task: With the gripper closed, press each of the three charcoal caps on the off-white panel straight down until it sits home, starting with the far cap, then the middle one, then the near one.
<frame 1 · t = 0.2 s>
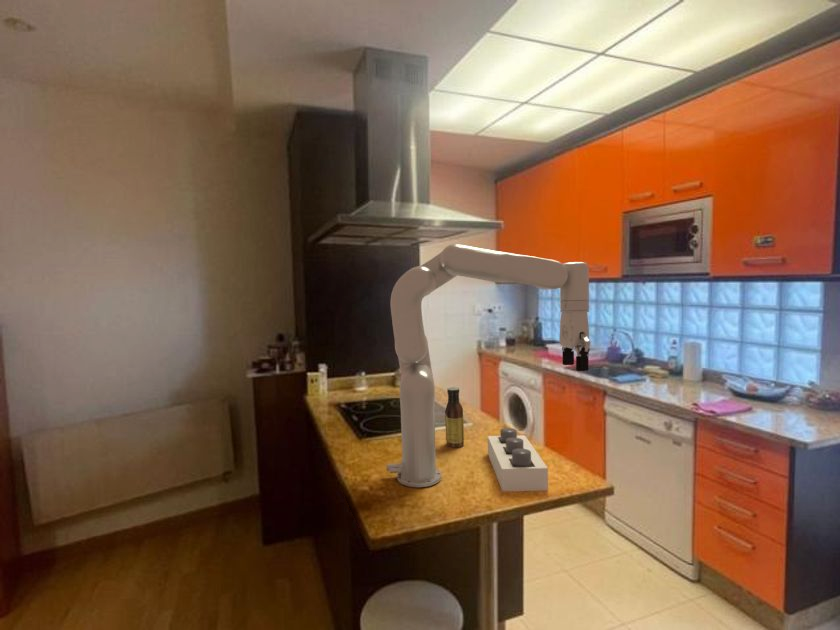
hand: (574, 367, 122), 31 cm above the worktop, tool pointing down, fingers open, 9 cm apart
near cap: (521, 461, 118), point 6 cm above the worktop, slide at 0.0 cm
far cap: (508, 439, 136), point 6 cm above the worktop, slide at 0.0 cm
button panel: (514, 470, 127), on the worktop
middle cap: (514, 449, 127), point 6 cm above the worktop, slide at 0.0 cm
sauce bottle: (455, 445, 149), on the worktop
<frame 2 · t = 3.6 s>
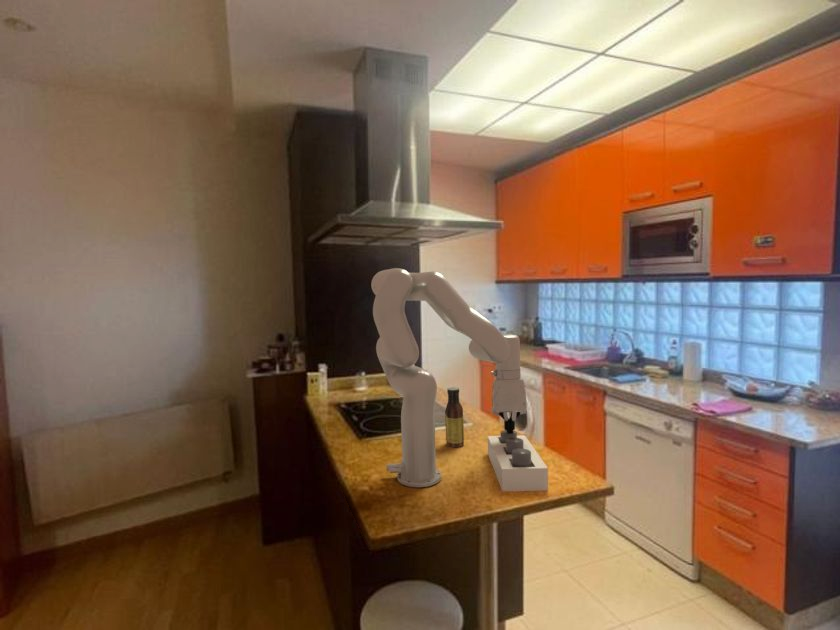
hand: (509, 432, 136), 8 cm above the worktop, tool pointing down, fingers closed
far cap: (508, 441, 136), point 6 cm above the worktop, slide at 0.6 cm, touching gripper
everything else where it was.
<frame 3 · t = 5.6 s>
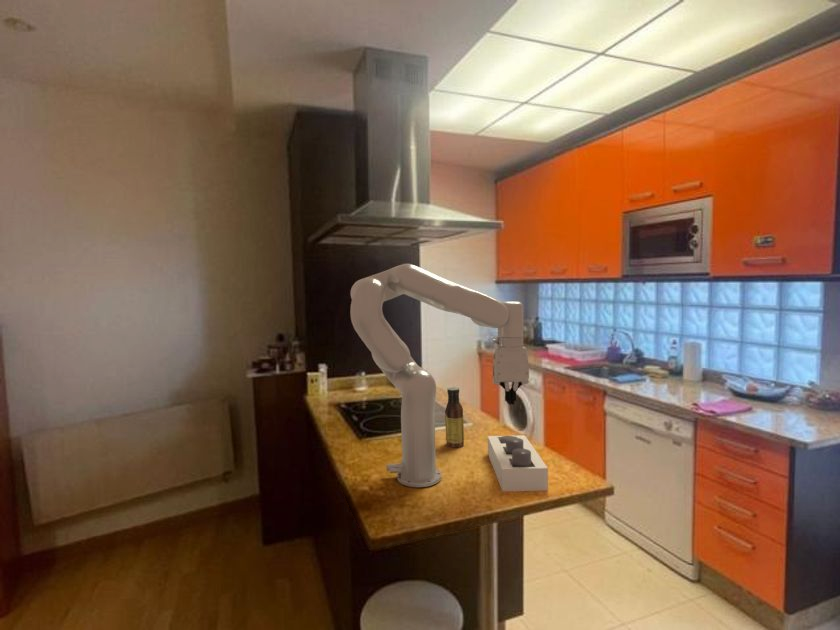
hand: (510, 403, 131), 19 cm above the worktop, tool pointing down, fingers closed
far cap: (508, 447, 136), point 4 cm above the worktop, slide at 2.5 cm
everything else where it was.
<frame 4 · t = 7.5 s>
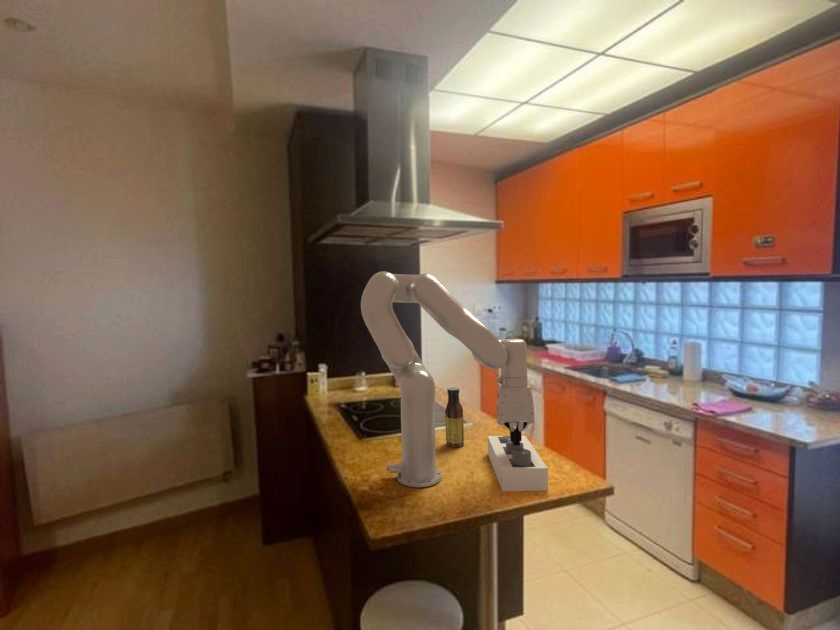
hand: (516, 443, 127), 8 cm above the worktop, tool pointing down, fingers closed
middle cap: (514, 452, 127), point 5 cm above the worktop, slide at 1.0 cm, touching gripper
everything else where it was.
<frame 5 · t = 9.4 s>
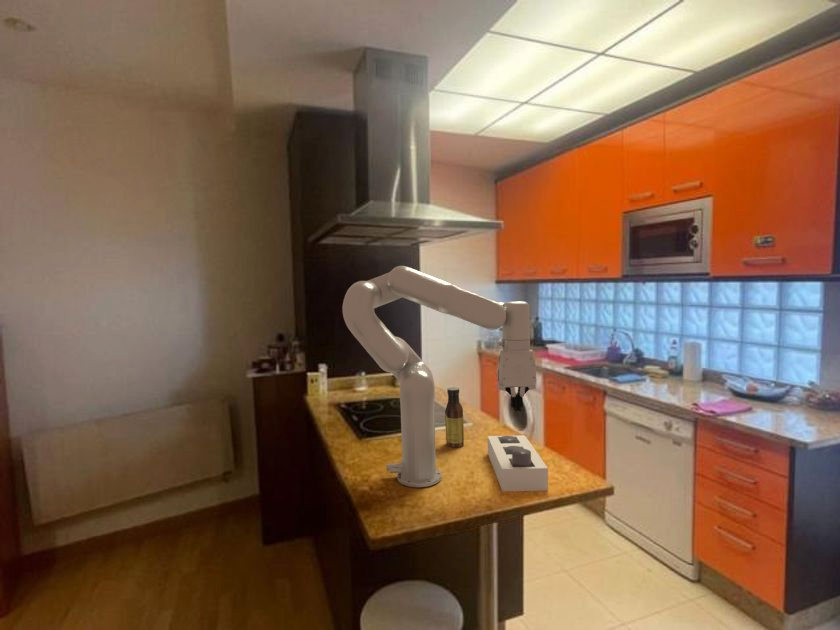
hand: (516, 409, 123), 19 cm above the worktop, tool pointing down, fingers closed
middle cap: (514, 458, 127), point 4 cm above the worktop, slide at 2.5 cm
everything else where it was.
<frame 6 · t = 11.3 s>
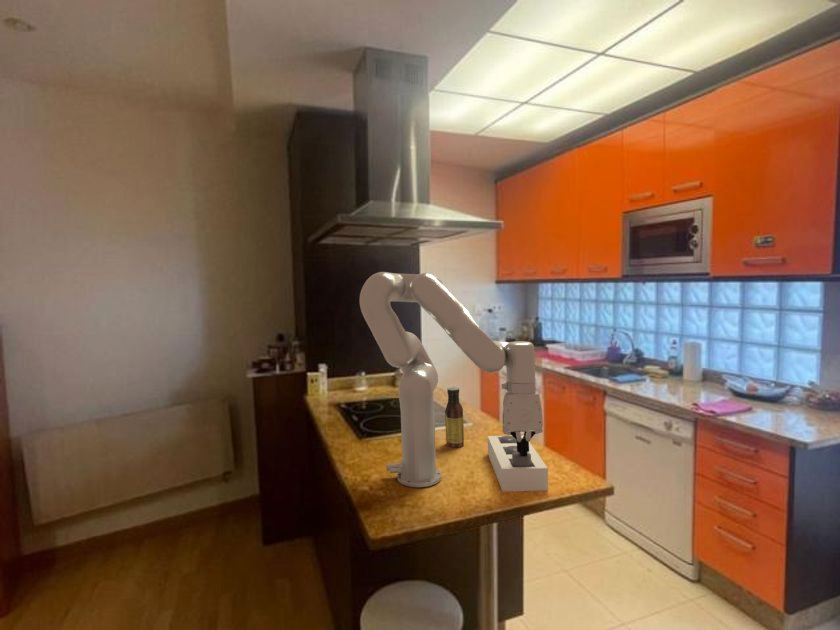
hand: (523, 454, 118), 8 cm above the worktop, tool pointing down, fingers closed
near cap: (521, 464, 118), point 6 cm above the worktop, slide at 0.7 cm, touching gripper
everything else where it was.
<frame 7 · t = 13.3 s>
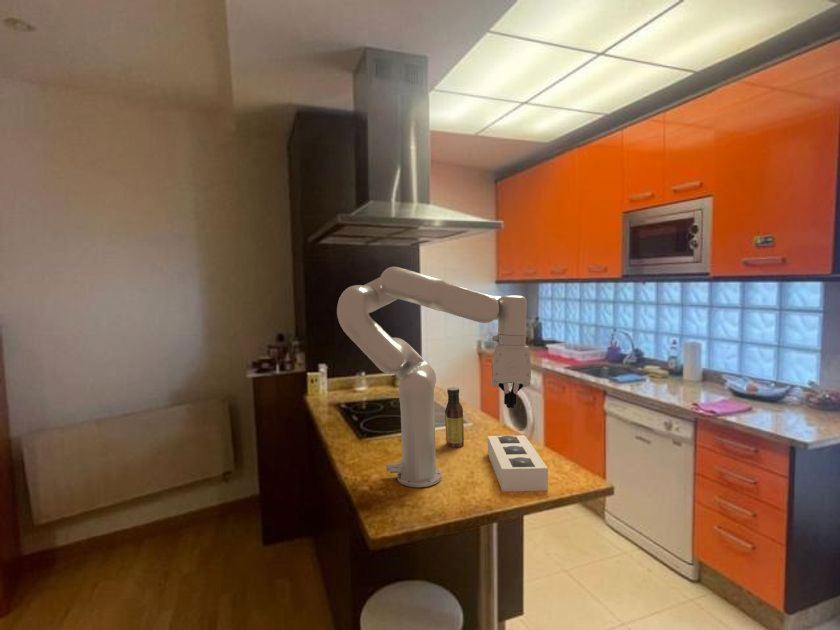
hand: (509, 406, 120), 21 cm above the worktop, tool pointing down, fingers closed
near cap: (521, 470, 118), point 4 cm above the worktop, slide at 2.5 cm
everything else where it was.
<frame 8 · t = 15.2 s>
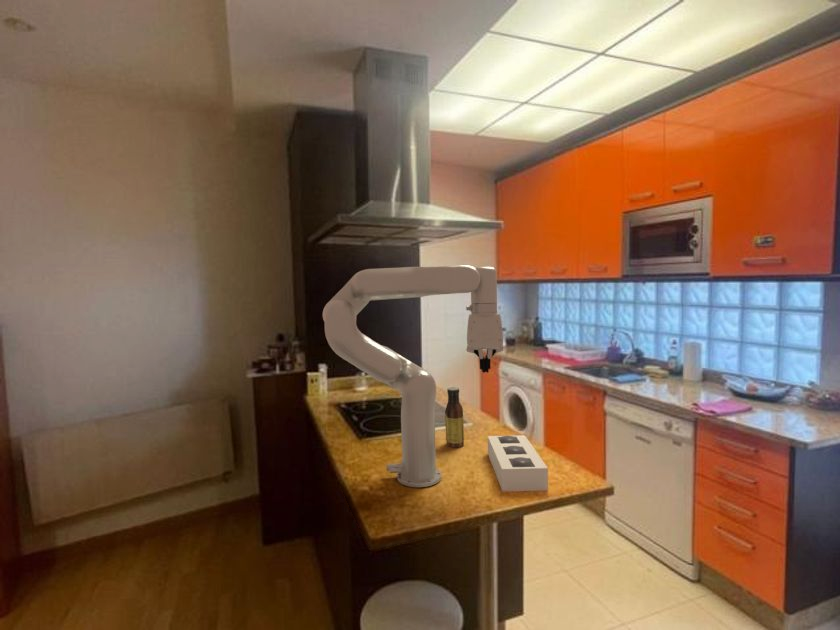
hand: (485, 371, 128), 29 cm above the worktop, tool pointing down, fingers closed
nothing on the worktop moved.
at the end: far cap slide at 2.5 cm; middle cap slide at 2.5 cm; near cap slide at 2.5 cm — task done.
